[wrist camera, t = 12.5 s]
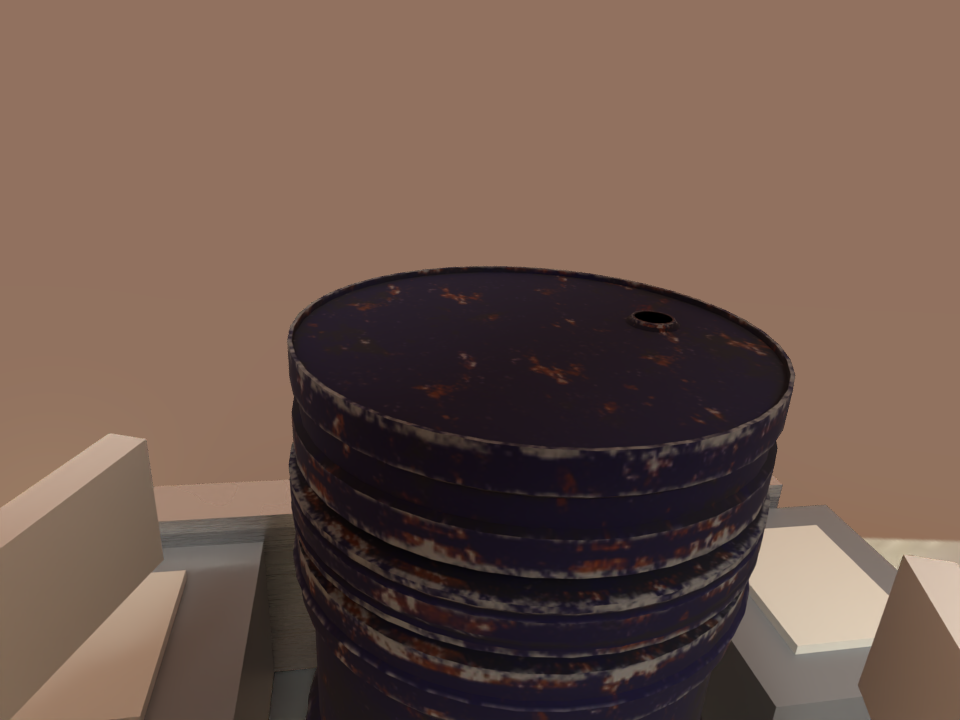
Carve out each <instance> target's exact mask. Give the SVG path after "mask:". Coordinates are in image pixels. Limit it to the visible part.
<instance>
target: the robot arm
mask: <svg viewBox="0 0 960 720" xmlns="http://www.w3.org/2000/svg"><path fill="white" fill-rule="evenodd" d="M163 560H164V557H163V550H162V543H161V537H160V530H159V523H158V516H157V509H156V503H155V496H154V489H153V482H152V475H151V469H150V462H149V456H148V449H147V441H146V439H143V438H136V437H129V436H123V435H116V434H110V433H109V434H108V435H106V436H105V437H103V438H102V439H100V440H99V441H97V442H96V443H94V444H93V445H91V446H90V447H89V448H87V449H86V450H84V451H83V452H81V453H80V454H78V455H77V456H75V457H74V458H72V459H71V460H70V461H68V462H67V463H65V464H64V465H62V466H61V467H59V468H58V469H56V470H55V471H54V472H52V473H51V474H49V475H48V476H46V477H45V478H43V479H42V480H41V481H39V482H38V483H36V484H35V485H33V486H32V487H30V488H29V489H27V490H26V491H24V492H23V493H21V494H20V495H19V496H17V497H16V498H14V499H13V500H11V501H10V502H8V503H7V504H5V505H4V506H3V507H1V508H0V720H10V719H11V718H12V717H13V716H14V715H15V714H16V713H17V712H18V711H19V710H20V709H21V708H22V707H23V706H24V705H25V704H26V703H27V702H28V700H29V699H30V698H31V697H32V696H33V695H34V694H35V693H36V692H37V691H38V690H39V689H40V688H41V687H42V686H43V685H44V684H45V683H46V682H47V681H48V680H49V679H50V678H51V677H52V675H53V674H54V673H55V672H56V671H57V670H58V669H59V668H60V667H61V666H62V665H63V664H64V663H65V662H66V661H67V660H68V659H69V658H70V657H71V656H72V655H73V654H74V653H75V652H76V650H77V649H78V648H79V647H80V646H81V645H82V644H83V643H84V642H85V641H86V640H87V639H88V638H89V637H90V636H91V635H92V634H93V633H94V632H95V631H96V630H97V629H98V628H99V627H100V625H101V624H102V623H103V622H104V621H105V620H106V619H107V618H108V617H109V616H110V615H111V614H112V613H113V612H114V611H115V610H116V609H117V608H118V607H119V606H120V605H121V604H122V603H123V601H124V600H125V599H126V598H127V597H128V596H129V595H130V594H131V593H132V592H133V591H134V590H135V589H136V588H137V587H138V586H139V585H140V584H141V583H142V582H143V581H144V580H145V579H146V578H147V576H148V575H149V574H150V573H151V572H152V571H153V570H154V569H155V568H156V567H157V566H158V565H159V564H160V563H161V562H162V561H163ZM858 687H859V690H860V692H861V695H862V697H863V700H864V702H865V705H866V708H867V710H868V713H869V715H870V718H871V720H960V567H959V565H958V564H957V563H956V562H950V561H943V560H937V559H930V558H924V557H917V556H911V555H903V557H902V560H901V563H900V566H899V569H898V572H897V575H896V577H895V580H894V583H893V586H892V589H891V592H890V594H889V597H888V600H887V603H886V606H885V609H884V612H883V614H882V617H881V620H880V623H879V626H878V629H877V631H876V634H875V637H874V640H873V643H872V646H871V649H870V651H869V654H868V657H867V660H866V663H865V666H864V668H863V671H862V674H861V677H860V680H859V683H858Z"/></svg>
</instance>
